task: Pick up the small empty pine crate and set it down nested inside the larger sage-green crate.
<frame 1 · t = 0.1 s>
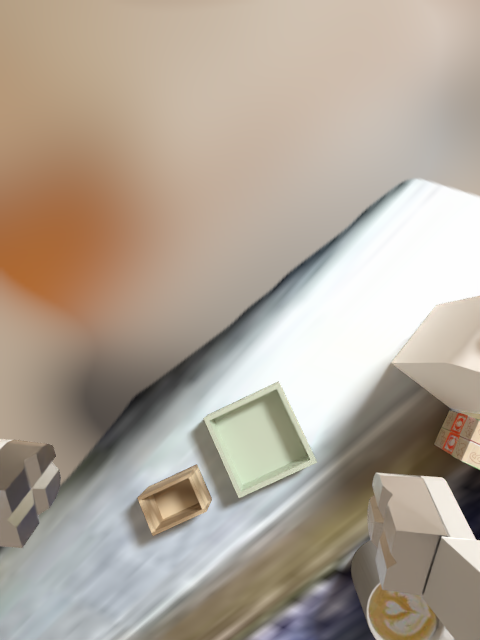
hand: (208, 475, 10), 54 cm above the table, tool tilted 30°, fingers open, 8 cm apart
coffee mug: (391, 580, 59), on the table
sage crate: (260, 434, 63), on the table
milk: (443, 356, 61), on the table
pine crate: (179, 493, 63), on the table
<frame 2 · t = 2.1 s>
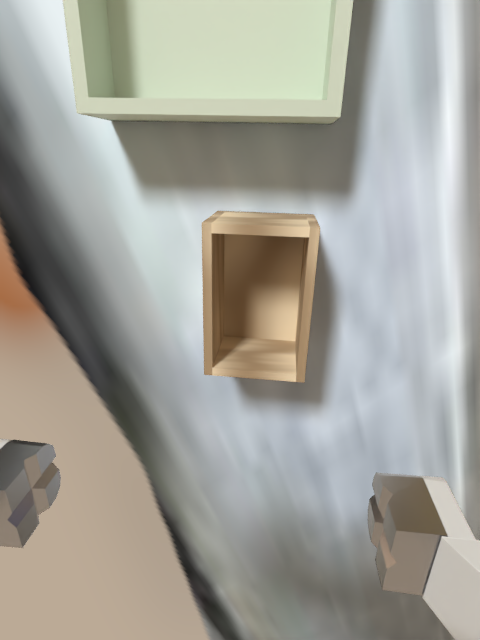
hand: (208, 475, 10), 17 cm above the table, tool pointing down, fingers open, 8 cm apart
pine crate: (262, 281, 26), on the table
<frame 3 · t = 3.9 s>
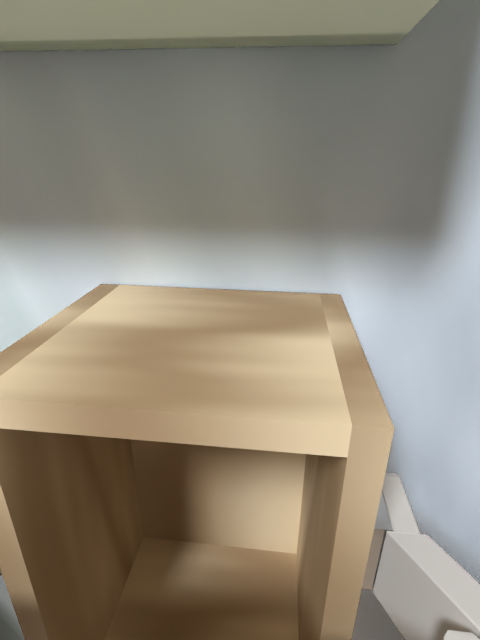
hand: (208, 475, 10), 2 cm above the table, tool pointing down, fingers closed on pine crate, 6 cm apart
pine crate: (219, 435, 11), on the table, touching gripper
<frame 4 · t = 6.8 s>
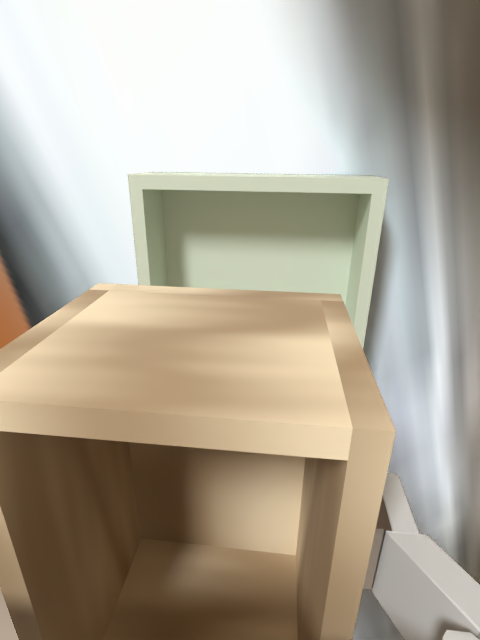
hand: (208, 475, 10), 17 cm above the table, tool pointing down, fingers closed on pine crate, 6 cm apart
sage crate: (256, 279, 25), on the table
pine crate: (217, 435, 11), point 15 cm above the table, touching gripper
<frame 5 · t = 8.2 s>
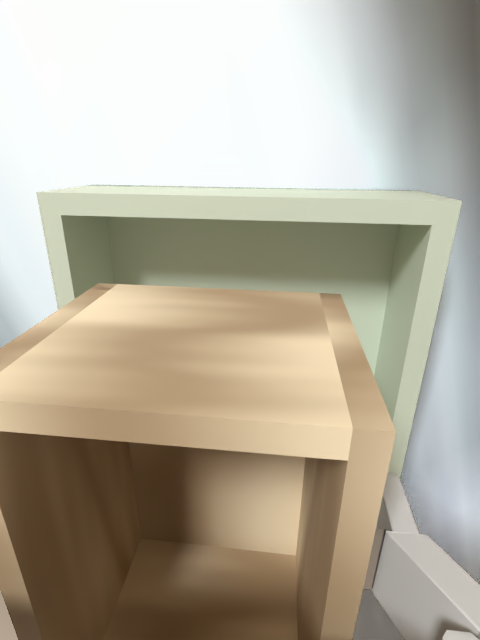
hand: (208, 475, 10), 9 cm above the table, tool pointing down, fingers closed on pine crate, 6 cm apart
sage crate: (246, 335, 18), on the table
pine crate: (217, 435, 11), point 7 cm above the table, touching gripper
when the fingers open (5 cm above the table, at t = 9.5 s): pine crate drops 3 cm, resting on sage crate.
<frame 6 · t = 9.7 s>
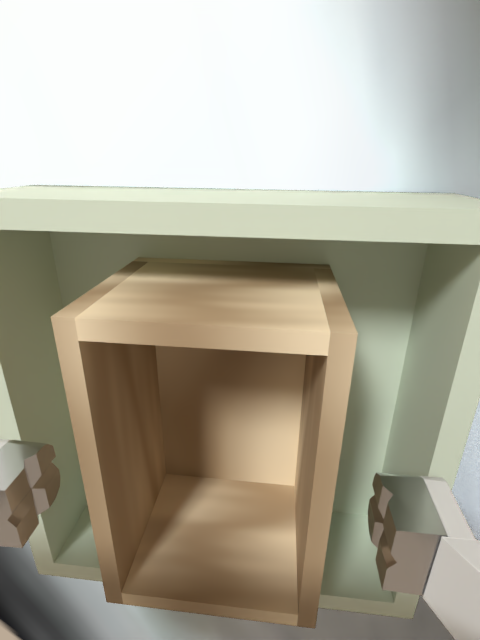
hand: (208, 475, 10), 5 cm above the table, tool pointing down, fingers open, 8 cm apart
sage crate: (232, 372, 14), on the table
pine crate: (231, 384, 14), point 1 cm above the table, touching sage crate
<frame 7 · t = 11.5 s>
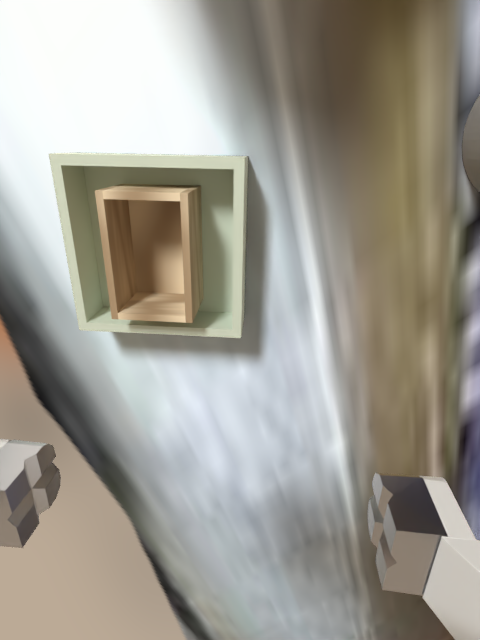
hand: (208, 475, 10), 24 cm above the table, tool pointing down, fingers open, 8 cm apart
sage crate: (166, 241, 31), on the table
pine crate: (165, 244, 31), point 1 cm above the table, touching sage crate
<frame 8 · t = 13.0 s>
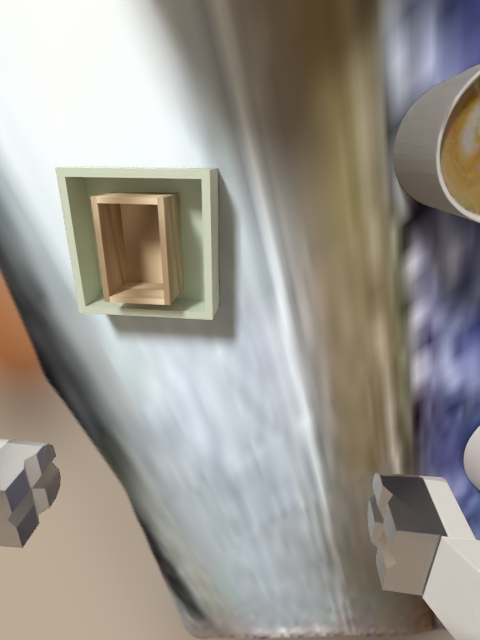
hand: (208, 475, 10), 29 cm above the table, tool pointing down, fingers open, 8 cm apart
coffee mug: (477, 139, 31), on the table
sage crate: (152, 239, 37), on the table
pine crate: (151, 241, 37), point 1 cm above the table, touching sage crate
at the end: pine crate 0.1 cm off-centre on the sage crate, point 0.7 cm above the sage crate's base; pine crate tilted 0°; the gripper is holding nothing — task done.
